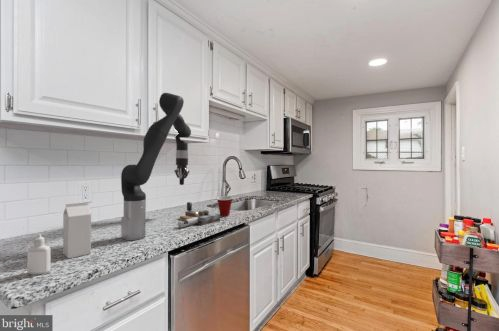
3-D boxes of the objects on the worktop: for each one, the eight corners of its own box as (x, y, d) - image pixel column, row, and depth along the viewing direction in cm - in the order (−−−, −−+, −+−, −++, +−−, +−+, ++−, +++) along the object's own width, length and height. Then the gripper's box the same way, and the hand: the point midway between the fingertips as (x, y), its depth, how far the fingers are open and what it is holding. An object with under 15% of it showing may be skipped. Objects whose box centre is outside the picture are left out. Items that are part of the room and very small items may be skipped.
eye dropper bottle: (36, 277, 75) (36, 237, 75) (25, 273, 78) (25, 234, 77) (52, 271, 79) (52, 233, 79) (41, 268, 82) (42, 231, 81)
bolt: (195, 216, 151) (195, 204, 151) (185, 214, 157) (185, 202, 157) (199, 215, 153) (199, 203, 153) (189, 213, 159) (189, 201, 159)
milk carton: (90, 253, 95) (91, 203, 94) (68, 259, 89) (68, 205, 89) (85, 249, 99) (85, 201, 99) (62, 254, 94) (63, 203, 94)
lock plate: (202, 225, 139) (202, 214, 139) (178, 219, 152) (178, 209, 152) (220, 221, 150) (220, 210, 150) (196, 215, 163) (197, 206, 163)
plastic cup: (212, 216, 163) (213, 197, 163) (221, 213, 173) (221, 195, 173) (227, 217, 159) (228, 198, 159) (235, 214, 169) (235, 196, 169)
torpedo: (181, 228, 130) (181, 216, 130) (175, 227, 133) (175, 215, 133) (205, 222, 146) (205, 211, 145) (199, 221, 148) (199, 210, 148)
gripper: (170, 157, 163) (170, 184, 163) (183, 157, 155) (183, 185, 155) (180, 157, 169) (180, 183, 169) (193, 157, 160) (193, 185, 161)
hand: (181, 184), depth 162 cm, fingers closed
